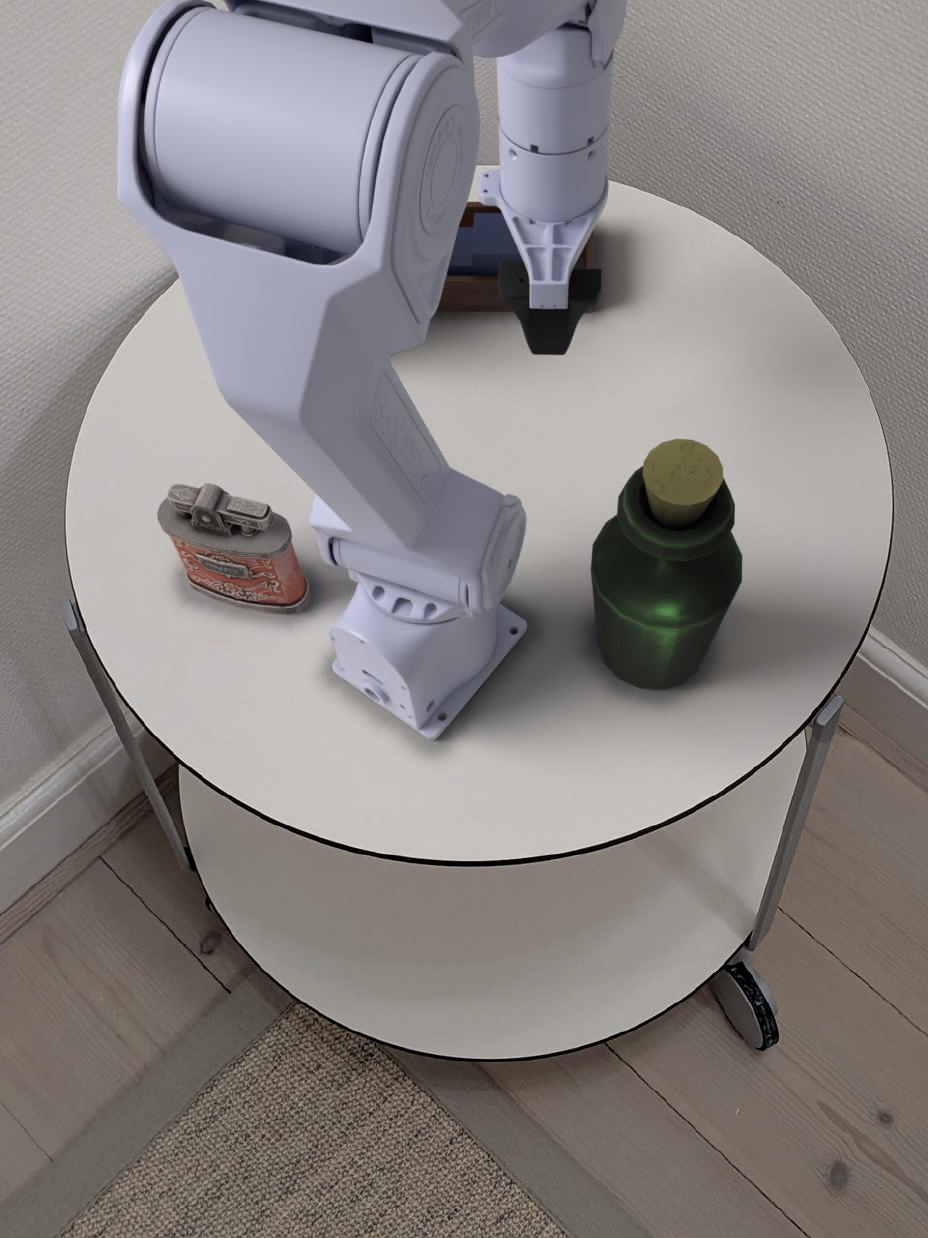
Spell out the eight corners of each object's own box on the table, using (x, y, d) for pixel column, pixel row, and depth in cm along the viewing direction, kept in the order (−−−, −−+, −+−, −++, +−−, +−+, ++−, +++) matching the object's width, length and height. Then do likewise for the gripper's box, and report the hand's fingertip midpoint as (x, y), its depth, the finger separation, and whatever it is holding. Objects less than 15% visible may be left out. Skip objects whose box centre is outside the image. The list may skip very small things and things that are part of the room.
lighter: (180, 593, 78) (134, 506, 69) (201, 548, 79) (159, 457, 71) (299, 623, 76) (269, 538, 68) (318, 577, 78) (290, 488, 69)
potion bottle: (666, 730, 72) (703, 576, 56) (556, 651, 75) (562, 482, 59) (747, 633, 75) (804, 459, 59) (638, 560, 77) (664, 375, 61)
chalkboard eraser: (566, 256, 89) (568, 212, 85) (565, 299, 87) (566, 255, 83) (448, 255, 89) (444, 211, 86) (444, 297, 88) (440, 254, 84)
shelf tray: (592, 233, 90) (594, 202, 88) (590, 312, 87) (592, 282, 84) (422, 231, 91) (418, 200, 89) (413, 309, 88) (410, 279, 85)
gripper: (483, 23, 67) (490, 214, 79) (467, 218, 61) (478, 394, 72) (613, 23, 67) (601, 214, 79) (613, 219, 60) (599, 396, 72)
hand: (550, 301), depth 76 cm, fingers open, 7 cm apart
